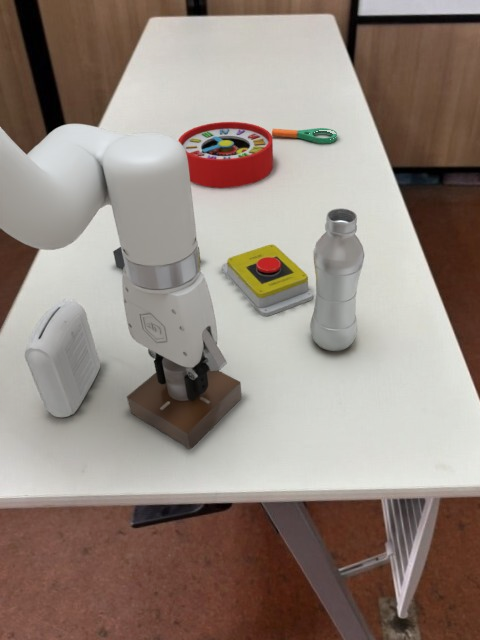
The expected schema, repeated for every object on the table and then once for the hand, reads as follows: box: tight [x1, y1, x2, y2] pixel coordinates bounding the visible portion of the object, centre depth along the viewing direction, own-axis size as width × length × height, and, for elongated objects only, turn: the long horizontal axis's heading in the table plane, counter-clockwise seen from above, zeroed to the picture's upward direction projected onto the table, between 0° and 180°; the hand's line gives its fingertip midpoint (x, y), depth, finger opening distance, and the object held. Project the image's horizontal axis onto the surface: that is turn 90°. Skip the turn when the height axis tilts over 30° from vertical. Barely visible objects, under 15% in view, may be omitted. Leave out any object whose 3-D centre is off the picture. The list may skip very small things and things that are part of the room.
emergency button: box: [221, 244, 314, 317], centre depth 91 cm, size 9×4×15 cm
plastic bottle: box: [309, 208, 365, 352], centre depth 75 cm, size 6×7×20 cm
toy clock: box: [177, 121, 274, 189], centre depth 122 cm, size 20×6×20 cm
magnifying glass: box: [271, 127, 338, 144], centre depth 134 cm, size 15×6×2 cm, turn 81°
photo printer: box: [24, 298, 101, 418], centre depth 71 cm, size 10×4×12 cm, turn 170°
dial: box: [162, 357, 189, 401], centre depth 69 cm, size 4×4×5 cm
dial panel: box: [126, 370, 243, 450], centre depth 72 cm, size 10×10×3 cm
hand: (183, 384), depth 70 cm, fingers closed on dial, 4 cm apart
